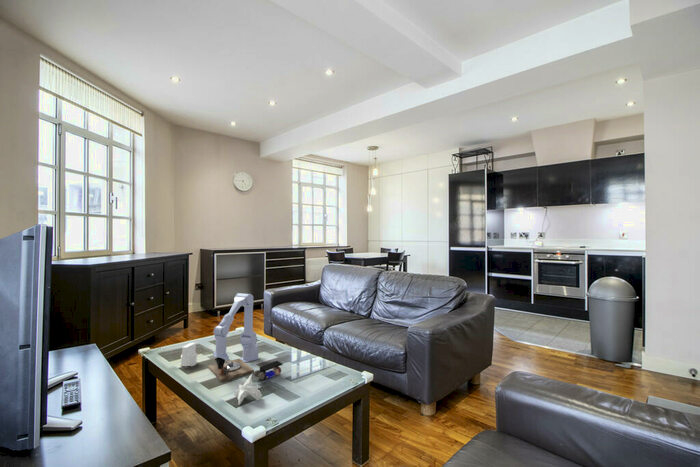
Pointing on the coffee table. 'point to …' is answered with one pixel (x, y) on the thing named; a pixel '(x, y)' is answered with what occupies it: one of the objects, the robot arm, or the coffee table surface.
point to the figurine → (247, 391)
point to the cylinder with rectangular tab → (189, 355)
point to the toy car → (264, 368)
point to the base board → (226, 375)
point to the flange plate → (229, 367)
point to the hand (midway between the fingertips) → (220, 370)
